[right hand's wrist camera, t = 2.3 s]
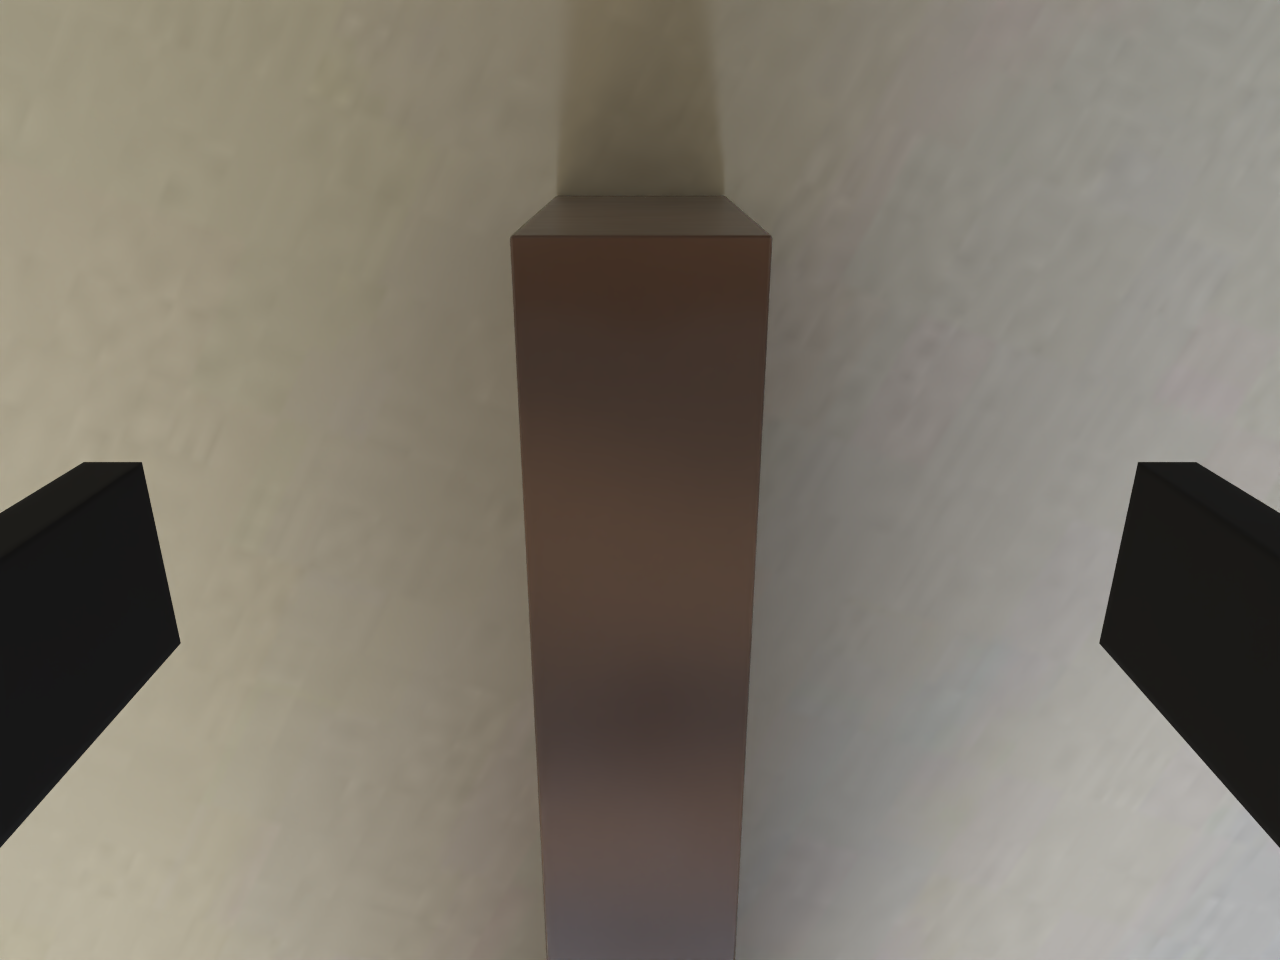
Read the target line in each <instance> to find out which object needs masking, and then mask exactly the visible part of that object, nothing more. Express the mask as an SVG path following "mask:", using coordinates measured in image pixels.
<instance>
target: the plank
mask: <svg viewBox="0 0 1280 960" xmlns="http://www.w3.org/2000/svg"><path fill="white" fill-rule="evenodd" d="M510 246H511V266H512V285H513V305H514V325H515V344H516V364H517V384H518V403H519V423H520V442H521V462H522V482H523V501H524V521H525V541H526V560H527V580H528V599H529V619H530V639H531V658H532V678H533V697H534V717H535V737H536V756H537V776H538V796H539V815H540V835H541V854H542V874H543V894H544V913H545V933H546V953H547V960H735V947H736V928H737V909H738V889H739V870H740V851H741V831H742V812H743V793H744V773H745V754H746V735H747V716H748V696H749V677H750V658H751V638H752V619H753V600H754V581H755V561H756V542H757V523H758V503H759V484H760V465H761V446H762V426H763V407H764V388H765V368H766V349H767V330H768V311H769V291H770V272H771V253H772V237H771V235H769V234H768V233H767V232H766V231H765V230H764V229H762V228H761V227H760V226H759V225H758V224H757V223H756V222H754V221H753V220H752V219H751V218H750V217H749V216H747V215H746V214H745V213H744V212H743V211H742V210H741V209H739V208H738V207H737V206H736V205H735V204H734V203H732V202H731V201H730V200H729V199H728V198H727V197H725V196H556V197H555V198H554V199H553V200H551V201H550V202H549V203H548V204H547V205H546V206H545V207H544V208H542V209H541V210H540V211H539V212H538V213H537V214H536V215H534V216H533V217H532V218H531V219H530V220H529V221H528V222H526V223H525V224H524V225H523V226H522V227H521V228H520V229H519V230H517V231H516V232H515V233H514V234H513V235H512V236H511V238H510Z"/></svg>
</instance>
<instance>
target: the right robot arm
mask: <svg viewBox="0 0 1280 960" xmlns="http://www.w3.org/2000/svg"><path fill="white" fill-rule="evenodd" d="M179 644H180V638H179V633H178V629H177V624H176V619H175V615H174V610H173V605H172V601H171V596H170V591H169V587H168V582H167V577H166V573H165V568H164V563H163V559H162V554H161V549H160V545H159V540H158V535H157V531H156V526H155V521H154V517H153V512H152V507H151V503H150V498H149V493H148V489H147V484H146V479H145V475H144V470H143V465H142V462H83V463H82V464H80V465H78V466H77V467H75V468H73V469H72V470H70V471H69V472H67V473H65V474H64V475H62V476H60V477H59V478H57V479H55V480H54V481H52V482H51V483H49V484H47V485H46V486H44V487H42V488H41V489H39V490H37V491H36V492H34V493H33V494H31V495H29V496H28V497H26V498H24V499H23V500H21V501H19V502H18V503H16V504H15V505H13V506H11V507H10V508H8V509H6V510H5V511H3V512H1V513H0V847H1V846H2V845H3V844H4V843H5V842H6V841H7V839H8V838H9V837H10V836H11V835H12V834H13V833H14V832H15V830H16V829H17V828H18V827H19V826H20V825H21V824H22V822H23V821H24V820H25V819H26V818H27V817H28V816H29V815H30V813H31V812H32V811H33V810H34V809H35V808H36V807H37V805H38V804H39V803H40V802H41V801H42V800H43V799H44V798H45V796H46V795H47V794H48V793H49V792H50V791H51V790H52V788H53V787H54V786H55V785H56V784H57V783H58V782H59V781H60V779H61V778H62V777H63V776H64V775H65V774H66V773H67V771H68V770H69V769H70V768H71V767H72V766H73V765H74V764H75V762H76V761H77V760H78V759H79V758H80V757H81V756H82V754H83V753H84V752H85V751H86V750H87V749H88V748H89V747H90V745H91V744H92V743H93V742H94V741H95V740H96V739H97V737H98V736H99V735H100V734H101V733H102V732H103V731H104V730H105V728H106V727H107V726H108V725H109V724H110V723H111V722H112V720H113V719H114V718H115V717H116V716H117V715H118V714H119V713H120V711H121V710H122V709H123V708H124V707H125V706H126V705H127V703H128V702H129V701H130V700H131V699H132V698H133V697H134V695H135V694H136V693H137V692H138V691H139V690H140V689H141V688H142V686H143V685H144V684H145V683H146V682H147V681H148V680H149V678H150V677H151V676H152V675H153V674H154V673H155V672H156V671H157V669H158V668H159V667H160V666H161V665H162V664H163V663H164V661H165V660H166V659H167V658H168V657H169V656H170V655H171V654H172V652H173V651H174V650H175V649H176V648H177V647H178V646H179ZM1100 644H1101V646H1102V647H1103V648H1104V649H1105V650H1106V651H1107V652H1108V654H1109V655H1110V656H1111V657H1112V658H1113V659H1114V660H1115V661H1116V663H1117V664H1118V665H1119V666H1120V667H1121V668H1122V669H1123V671H1124V672H1125V673H1126V674H1127V675H1128V676H1129V677H1130V678H1131V680H1132V681H1133V682H1134V683H1135V684H1136V685H1137V686H1138V688H1139V689H1140V690H1141V691H1142V692H1143V693H1144V694H1145V695H1146V697H1147V698H1148V699H1149V700H1150V701H1151V702H1152V703H1153V705H1154V706H1155V707H1156V708H1157V709H1158V710H1159V711H1160V713H1161V714H1162V715H1163V716H1164V717H1165V718H1166V719H1167V720H1168V722H1169V723H1170V724H1171V725H1172V726H1173V727H1174V728H1175V730H1176V731H1177V732H1178V733H1179V734H1180V735H1181V736H1182V737H1183V739H1184V740H1185V741H1186V742H1187V743H1188V744H1189V745H1190V747H1191V748H1192V749H1193V750H1194V751H1195V752H1196V753H1197V754H1198V756H1199V757H1200V758H1201V759H1202V760H1203V761H1204V762H1205V764H1206V765H1207V766H1208V767H1209V768H1210V769H1211V770H1212V771H1213V773H1214V774H1215V775H1216V776H1217V777H1218V778H1219V779H1220V781H1221V782H1222V783H1223V784H1224V785H1225V786H1226V787H1227V788H1228V790H1229V791H1230V792H1231V793H1232V794H1233V795H1234V796H1235V798H1236V799H1237V800H1238V801H1239V802H1240V803H1241V804H1242V805H1243V807H1244V808H1245V809H1246V810H1247V811H1248V812H1249V813H1250V815H1251V816H1252V817H1253V818H1254V819H1255V820H1256V821H1257V822H1258V824H1259V825H1260V826H1261V827H1262V828H1263V829H1264V830H1265V832H1266V833H1267V834H1268V835H1269V836H1270V837H1271V838H1272V839H1273V841H1274V842H1275V843H1276V844H1277V845H1278V846H1279V847H1280V513H1279V512H1277V511H1275V510H1274V509H1272V508H1270V507H1269V506H1267V505H1265V504H1264V503H1262V502H1261V501H1259V500H1257V499H1256V498H1254V497H1252V496H1251V495H1249V494H1247V493H1246V492H1244V491H1243V490H1241V489H1239V488H1238V487H1236V486H1234V485H1233V484H1231V483H1229V482H1228V481H1226V480H1225V479H1223V478H1221V477H1220V476H1218V475H1216V474H1215V473H1213V472H1211V471H1210V470H1208V469H1207V468H1205V467H1203V466H1202V465H1200V464H1198V463H1197V462H1138V465H1137V470H1136V475H1135V479H1134V484H1133V489H1132V493H1131V498H1130V503H1129V507H1128V512H1127V517H1126V521H1125V526H1124V531H1123V535H1122V540H1121V545H1120V549H1119V554H1118V559H1117V563H1116V568H1115V573H1114V577H1113V582H1112V587H1111V591H1110V596H1109V601H1108V605H1107V610H1106V615H1105V619H1104V624H1103V629H1102V633H1101V638H1100Z"/></svg>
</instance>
